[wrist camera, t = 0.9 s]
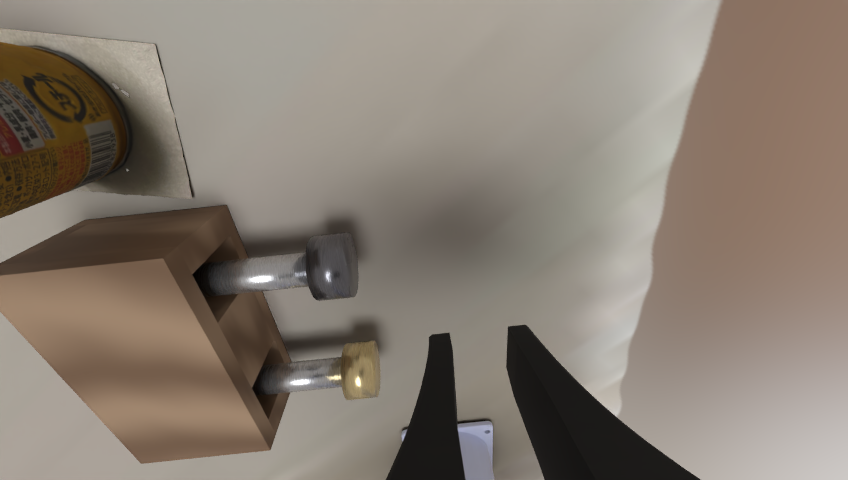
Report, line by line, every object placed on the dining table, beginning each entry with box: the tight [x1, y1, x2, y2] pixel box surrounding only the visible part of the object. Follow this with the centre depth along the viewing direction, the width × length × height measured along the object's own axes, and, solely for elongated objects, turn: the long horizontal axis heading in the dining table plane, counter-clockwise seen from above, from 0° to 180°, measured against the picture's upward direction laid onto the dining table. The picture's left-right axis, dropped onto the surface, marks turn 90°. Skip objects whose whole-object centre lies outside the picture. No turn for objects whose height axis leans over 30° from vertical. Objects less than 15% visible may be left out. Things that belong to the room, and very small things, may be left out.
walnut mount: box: [0, 205, 291, 464], centre depth 20 cm, size 14×8×6 cm, turn 5°
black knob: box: [192, 233, 358, 301], centre depth 18 cm, size 3×9×3 cm, turn 95°
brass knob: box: [252, 341, 380, 400], centre depth 22 cm, size 3×9×3 cm, turn 95°
